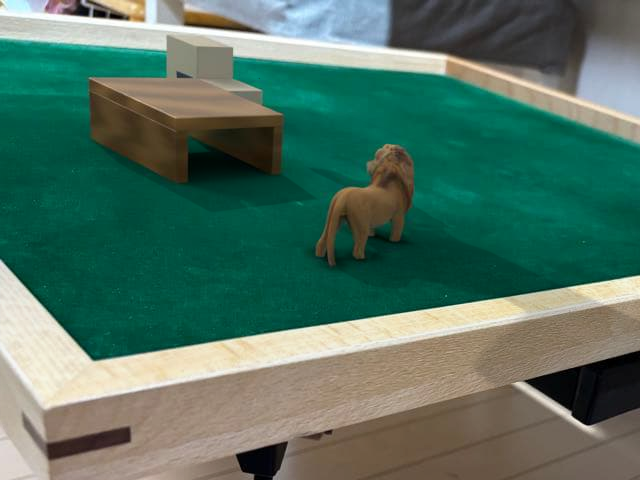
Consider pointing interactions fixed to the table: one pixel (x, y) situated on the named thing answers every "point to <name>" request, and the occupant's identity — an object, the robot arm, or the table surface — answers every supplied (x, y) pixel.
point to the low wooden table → (181, 123)
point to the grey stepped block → (206, 64)
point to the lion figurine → (372, 202)
